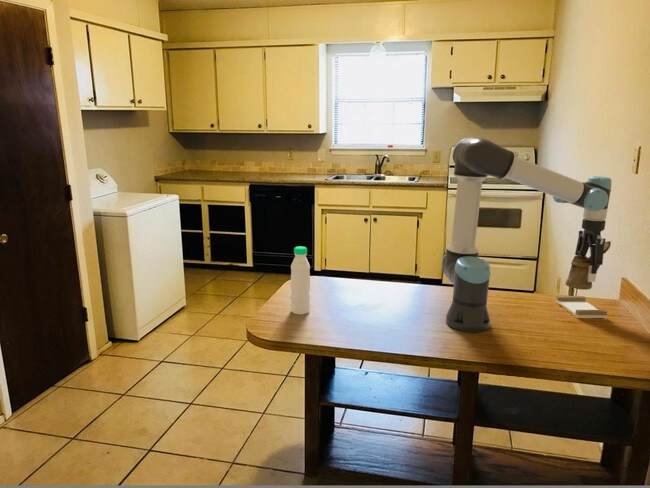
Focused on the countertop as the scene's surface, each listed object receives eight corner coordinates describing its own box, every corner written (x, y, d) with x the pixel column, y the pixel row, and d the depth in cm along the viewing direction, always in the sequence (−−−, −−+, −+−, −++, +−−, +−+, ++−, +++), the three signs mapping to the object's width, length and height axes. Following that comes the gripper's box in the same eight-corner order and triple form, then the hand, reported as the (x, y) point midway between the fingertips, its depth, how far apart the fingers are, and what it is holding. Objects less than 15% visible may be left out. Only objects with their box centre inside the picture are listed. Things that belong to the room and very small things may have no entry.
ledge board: (576, 318, 182) (578, 311, 181) (555, 303, 198) (556, 296, 197) (605, 318, 183) (607, 311, 182) (582, 303, 198) (583, 296, 197)
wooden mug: (608, 291, 182) (616, 244, 178) (570, 289, 183) (577, 242, 179) (598, 283, 191) (605, 238, 186) (561, 281, 192) (568, 236, 187)
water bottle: (310, 308, 188) (311, 245, 181) (308, 315, 181) (308, 250, 175) (292, 307, 188) (292, 244, 182) (289, 314, 182) (289, 249, 175)
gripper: (620, 224, 172) (610, 286, 177) (589, 213, 191) (580, 270, 196) (599, 224, 171) (590, 287, 177) (570, 213, 190) (562, 270, 196)
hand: (585, 278), depth 187 cm, fingers closed on wooden mug, 7 cm apart
